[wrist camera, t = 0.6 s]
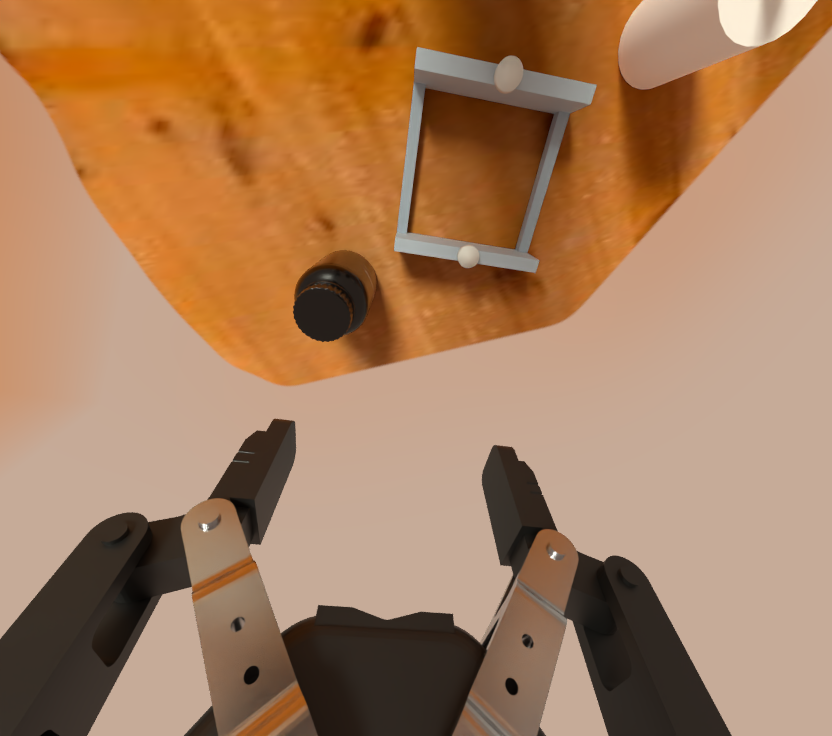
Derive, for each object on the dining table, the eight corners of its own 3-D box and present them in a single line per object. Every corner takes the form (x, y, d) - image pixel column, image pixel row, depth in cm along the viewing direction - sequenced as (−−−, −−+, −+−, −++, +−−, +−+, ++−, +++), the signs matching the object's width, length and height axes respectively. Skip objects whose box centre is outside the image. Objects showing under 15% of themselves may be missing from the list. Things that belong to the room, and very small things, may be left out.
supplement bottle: (389, 278, 37) (381, 315, 27) (352, 319, 39) (331, 368, 29) (341, 234, 35) (311, 255, 24) (304, 280, 37) (263, 318, 27)
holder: (416, 61, 28) (418, 35, 23) (571, 93, 29) (604, 75, 24) (395, 246, 35) (393, 256, 30) (519, 265, 37) (536, 278, 32)
